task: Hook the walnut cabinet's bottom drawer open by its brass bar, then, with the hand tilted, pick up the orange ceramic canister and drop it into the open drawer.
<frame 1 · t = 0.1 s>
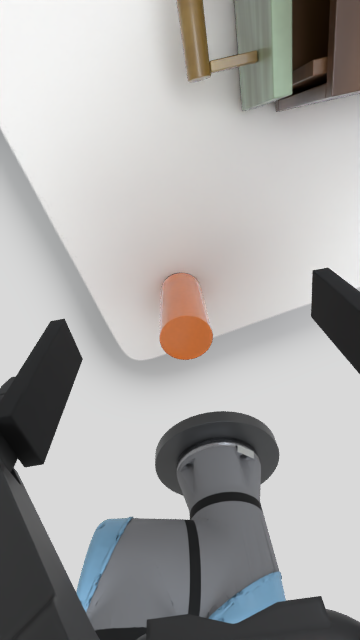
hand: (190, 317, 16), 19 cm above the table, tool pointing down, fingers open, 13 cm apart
canister: (180, 291, 36), on the table
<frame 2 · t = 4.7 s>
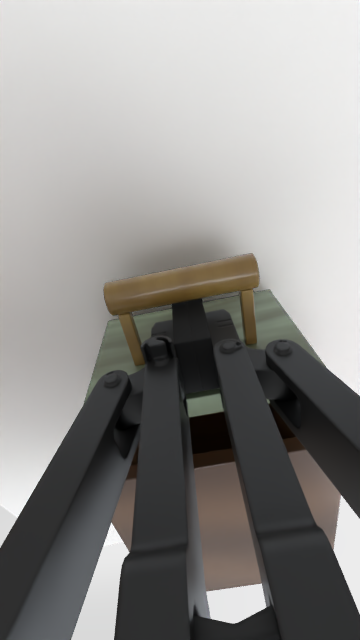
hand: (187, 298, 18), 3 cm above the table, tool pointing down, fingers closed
drawer: (204, 395, 19), point 5 cm above the table, slide at 2.5 cm, touching gripper
cabinet: (208, 405, 27), on the table
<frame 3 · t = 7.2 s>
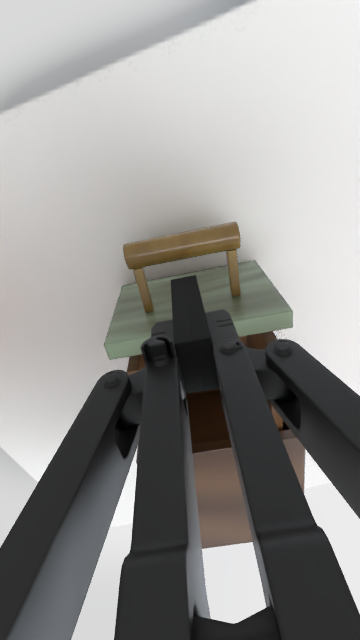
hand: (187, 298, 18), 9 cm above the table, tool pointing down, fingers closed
drawer: (200, 344, 24), point 5 cm above the table, slide at 8.9 cm
cabinet: (213, 409, 35), on the table
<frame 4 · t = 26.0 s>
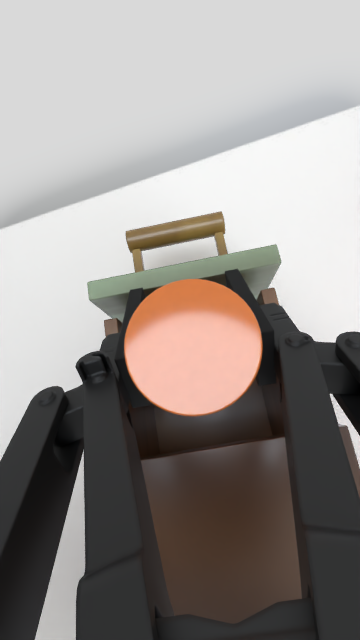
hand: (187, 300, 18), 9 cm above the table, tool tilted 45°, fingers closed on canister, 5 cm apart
drawer: (196, 346, 21), point 5 cm above the table, slide at 8.9 cm, touching gripper
cabinet: (231, 527, 23), on the table
canister: (201, 368, 20), point 6 cm above the table, touching gripper
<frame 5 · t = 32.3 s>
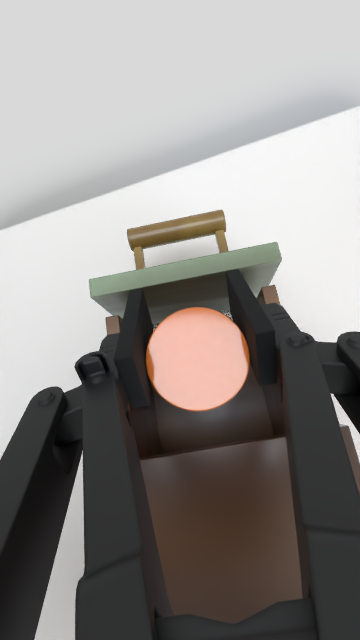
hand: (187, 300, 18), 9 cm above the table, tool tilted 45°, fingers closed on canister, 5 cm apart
drawer: (197, 344, 21), point 5 cm above the table, slide at 9.1 cm
cabinet: (232, 527, 23), on the table
canister: (202, 372, 24), point 2 cm above the table, touching gripper
when the fingers open (11 cm above the table, at t = 33.0 s): canister drops 1 cm, resting on drawer.
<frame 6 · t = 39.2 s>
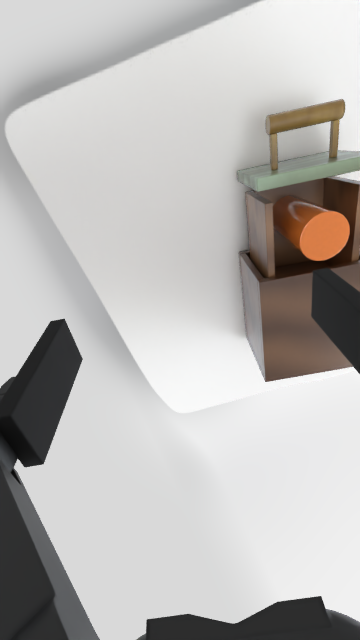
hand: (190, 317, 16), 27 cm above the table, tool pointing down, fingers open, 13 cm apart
drawer: (299, 205, 34), point 5 cm above the table, slide at 9.1 cm, touching canister
cabinet: (284, 290, 45), on the table
canister: (288, 215, 38), point 2 cm above the table, touching drawer
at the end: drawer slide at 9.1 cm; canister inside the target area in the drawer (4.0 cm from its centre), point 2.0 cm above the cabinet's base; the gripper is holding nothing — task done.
